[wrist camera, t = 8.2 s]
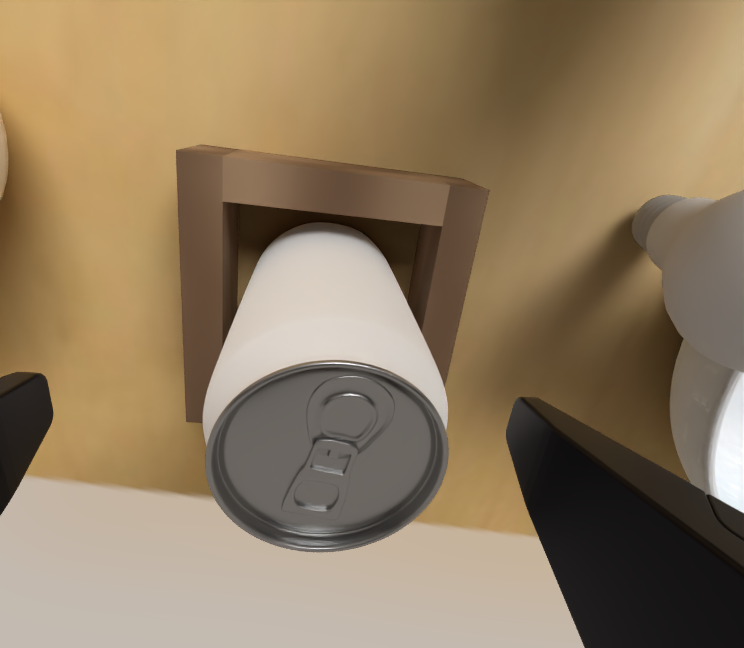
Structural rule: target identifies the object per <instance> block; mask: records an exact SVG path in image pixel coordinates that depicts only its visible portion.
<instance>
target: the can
mask: <svg viewBox="0 0 744 648" xmlns="http://www.w3.org/2000/svg"><path fill="white" fill-rule="evenodd" d="M447 421H448V404H447V397H446V392H445V388H444V384H443V381H442V378H441V376H440V373H439V371H438V368H437V366H436V363H435V361H434V359H433V357H432V354H431V352H430V350H429V348H428V346H427V343H426V341H425V339H424V337H423V335H422V333H421V331H420V328H419V326H418V324H417V322H416V320H415V318H414V316H413V314H412V312H411V309H410V307H409V305H408V303H407V301H406V299H405V297H404V295H403V293H402V291H401V288H400V286H399V284H398V282H397V280H396V278H395V276H394V274H393V272H392V270H391V268H390V266H389V264H388V262H387V260H386V259H385V257H384V255H383V254H382V252H381V251H380V250H379V248H378V247H377V246H376V245H375V244H374V243H373V242H372V241H371V240H370V239H369V238H368V237H367V236H366V235H364V234H363V233H361V232H359V231H357V230H355V229H353V228H350V227H347V226H344V225H340V224H334V223H323V222H317V223H308V224H304V225H300V226H297V227H295V228H292V229H290V230H288V231H286V232H285V233H283V234H282V235H280V236H279V237H277V238H276V239H275V240H274V241H273V242H272V243H271V244H270V245H269V246H268V247H267V248H266V250H265V251H264V252H263V254H262V255H261V257H260V259H259V261H258V263H257V265H256V267H255V269H254V272H253V274H252V276H251V279H250V281H249V284H248V286H247V288H246V291H245V293H244V296H243V298H242V301H241V303H240V306H239V308H238V311H237V313H236V316H235V318H234V320H233V323H232V325H231V328H230V330H229V333H228V336H227V338H226V341H225V343H224V346H223V348H222V351H221V353H220V356H219V358H218V361H217V364H216V366H215V369H214V372H213V374H212V377H211V380H210V383H209V386H208V389H207V393H206V397H205V402H204V408H203V432H204V438H205V442H206V446H207V448H206V455H205V469H206V476H207V480H208V484H209V487H210V490H211V492H212V494H213V496H214V498H215V500H216V502H217V503H218V505H219V506H220V507H221V509H222V510H223V511H224V513H225V514H226V515H227V516H228V517H229V518H230V519H231V520H232V521H233V522H234V523H236V524H237V525H238V526H239V527H240V528H242V529H243V530H245V531H246V532H248V533H249V534H251V535H253V536H254V537H256V538H258V539H260V540H263V541H265V542H268V543H270V544H273V545H276V546H279V547H283V548H287V549H291V550H298V551H305V552H334V551H343V550H349V549H354V548H358V547H362V546H365V545H368V544H371V543H374V542H377V541H379V540H381V539H384V538H386V537H388V536H390V535H392V534H394V533H395V532H397V531H399V530H400V529H402V528H403V527H405V526H406V525H408V524H409V523H410V522H412V521H413V520H414V519H415V518H416V517H417V516H418V515H419V514H420V513H422V511H423V510H424V509H425V508H426V507H427V506H428V505H429V503H430V502H431V501H432V499H433V498H434V496H435V495H436V493H437V492H438V490H439V488H440V486H441V484H442V481H443V479H444V476H445V473H446V469H447V464H448V455H449V448H448V438H447V434H446V429H447Z"/></svg>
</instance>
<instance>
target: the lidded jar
mask: <svg viewBox="0 0 744 648" xmlns="http://www.w3.org/2000/svg"><path fill="white" fill-rule="evenodd" d="M8 161H9V155H8V146H7V136H6V131H5V127H4V123H3V120H2V116H1V112H0V200H1V198H2V196H3V193H4V189H5V185H6V181H7V177H8Z"/></svg>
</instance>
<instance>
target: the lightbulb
mask: <svg viewBox="0 0 744 648" xmlns="http://www.w3.org/2000/svg"><path fill="white" fill-rule="evenodd" d="M632 235H633V238H634V240H635V241H636V242H637V243H638V244H639V245H640V246H641V247H642V248H643V249H644V250H645V251H647V252H648V255H649V257H650V258H651V260H652V261H653V263H654V264H655V265H656V266H658V267H659V268H660V269H661V270H662V287H663V298H664V303H665V307H666V311H667V312H668V314H669V316H670V318H671V320H672V322H673V324H674V325H675V327H676V329H677V331H678V332H679V334H680V335H681V336H682V337H683V338H684V339H685V340H686V341H687V342H688V343H689V344H690V345H691V346H692V347H693V348H694V349H696V350H697V351H698V352H699V353H701V354H703V355H704V356H706V357H707V358H709V359H711V360H712V361H715V362H717V363H719V364H721V365H723V366H725V367H728V368H731V369H734V370H737V371H740V372H743V373H744V190H742V191H740V192H737V193H735V194H732V195H730V196H727V197H725V198H722V199H720V200H713V199H709V198H702V197H698V198H689V199H688V198H684V197H681V196H675V195H662V196H658V197H655V198H653V199H651V200H650V201H648V202H646V203H645V204H644V205H643V206H642V207H641V208H640V209H639V210H638V212H637V213H636V215H635V217H634V219H633V222H632Z"/></svg>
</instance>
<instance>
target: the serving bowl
mask: <svg viewBox="0 0 744 648" xmlns="http://www.w3.org/2000/svg"><path fill="white" fill-rule="evenodd" d="M670 421H671V428H672V434H673V439H674V443H675V447H676V451H677V454H678V456H679V459H680V462H681V464H682V466H683V469H684V471H685V473H686V475H687V477H688V479H689V481H690V482H691V484H692V485H694V486H696V487H698V488H699V489H701V490H703V491H704V492H705V493H706V495H707V494H710V495H712V496H714V497H716V498H717V499H719V500H721V501H723V502H725V503H726V504H728V505H730V506H732V507H734V508H735V509H737V510H739V511H741V512H743V513H744V373H743V372H740V371H737V370H734V369H731V368H728V367H725V366H723V365H721V364H719V363H717V362H715V361H712V360H711V359H709V358H707V357H706V356H704V355H703V354H701V353H699V352H698V351H697V350H696V349H694V348H693V347H692V346H691V345H690V344H689V343H688V342H687V341H686V340H685V339H683V341H682V344H681V347H680V350H679V353H678V356H677V359H676V363H675V367H674V372H673V377H672V383H671V392H670Z"/></svg>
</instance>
